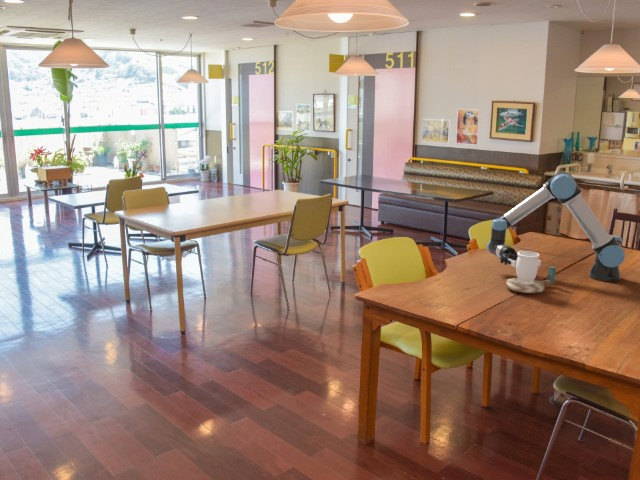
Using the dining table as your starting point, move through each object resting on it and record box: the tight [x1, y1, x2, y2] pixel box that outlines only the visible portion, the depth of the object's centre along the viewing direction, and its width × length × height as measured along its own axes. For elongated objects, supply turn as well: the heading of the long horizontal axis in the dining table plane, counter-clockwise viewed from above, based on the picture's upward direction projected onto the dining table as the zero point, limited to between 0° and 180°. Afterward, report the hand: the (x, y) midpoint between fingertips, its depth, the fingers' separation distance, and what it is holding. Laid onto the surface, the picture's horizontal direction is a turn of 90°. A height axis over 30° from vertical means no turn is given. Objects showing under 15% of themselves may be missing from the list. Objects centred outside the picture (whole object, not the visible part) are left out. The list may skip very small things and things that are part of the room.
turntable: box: [505, 266, 557, 294], centre depth 301 cm, size 27×18×8 cm, turn 115°
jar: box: [515, 250, 540, 285], centre depth 298 cm, size 11×10×15 cm
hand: (527, 264), depth 297 cm, fingers open, 13 cm apart
